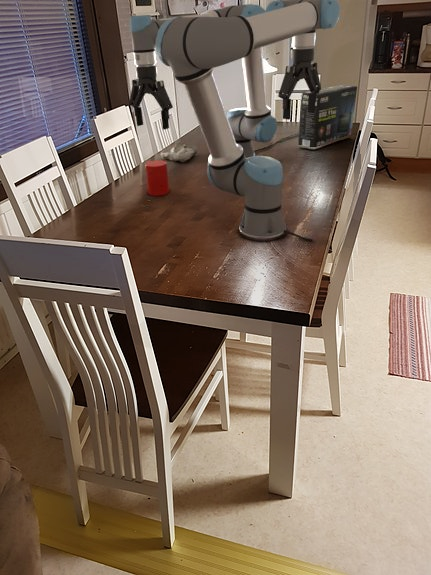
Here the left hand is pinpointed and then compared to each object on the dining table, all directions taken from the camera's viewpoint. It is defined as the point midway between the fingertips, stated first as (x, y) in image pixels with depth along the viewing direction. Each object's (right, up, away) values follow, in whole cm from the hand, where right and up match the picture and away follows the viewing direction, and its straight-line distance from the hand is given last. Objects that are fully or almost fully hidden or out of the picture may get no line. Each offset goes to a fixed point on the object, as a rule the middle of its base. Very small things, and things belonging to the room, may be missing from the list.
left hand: (152, 127), depth 174 cm
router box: (+82, +16, +70) cm, 110 cm away
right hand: (+53, -1, -13) cm, 55 cm away
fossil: (+5, +4, +55) cm, 56 cm away
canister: (+1, -22, +13) cm, 26 cm away
